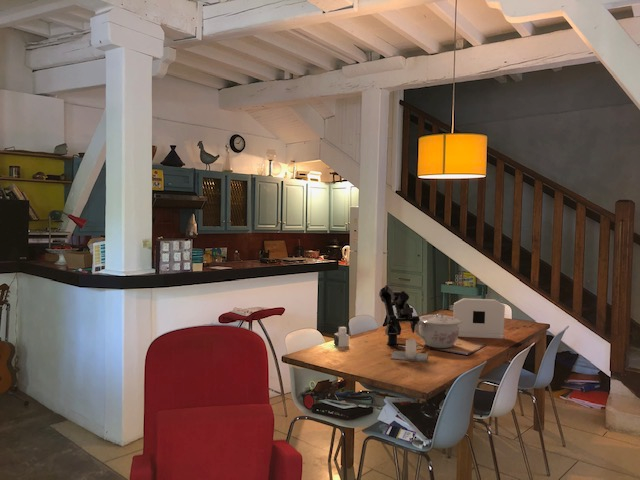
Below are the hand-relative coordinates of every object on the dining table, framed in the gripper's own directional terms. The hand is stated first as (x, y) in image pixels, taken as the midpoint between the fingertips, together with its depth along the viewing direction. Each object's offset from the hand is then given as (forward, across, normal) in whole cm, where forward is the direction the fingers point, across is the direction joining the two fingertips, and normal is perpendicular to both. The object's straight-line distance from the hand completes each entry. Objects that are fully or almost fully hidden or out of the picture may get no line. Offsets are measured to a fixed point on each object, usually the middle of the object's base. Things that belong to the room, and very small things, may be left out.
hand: (406, 332), depth 307 cm
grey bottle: (-7, -31, +30) cm, 44 cm away
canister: (+14, +1, +3) cm, 15 cm away
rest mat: (+12, +2, +7) cm, 14 cm away
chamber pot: (-4, +30, +22) cm, 37 cm away
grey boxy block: (-24, +70, +41) cm, 85 cm away
